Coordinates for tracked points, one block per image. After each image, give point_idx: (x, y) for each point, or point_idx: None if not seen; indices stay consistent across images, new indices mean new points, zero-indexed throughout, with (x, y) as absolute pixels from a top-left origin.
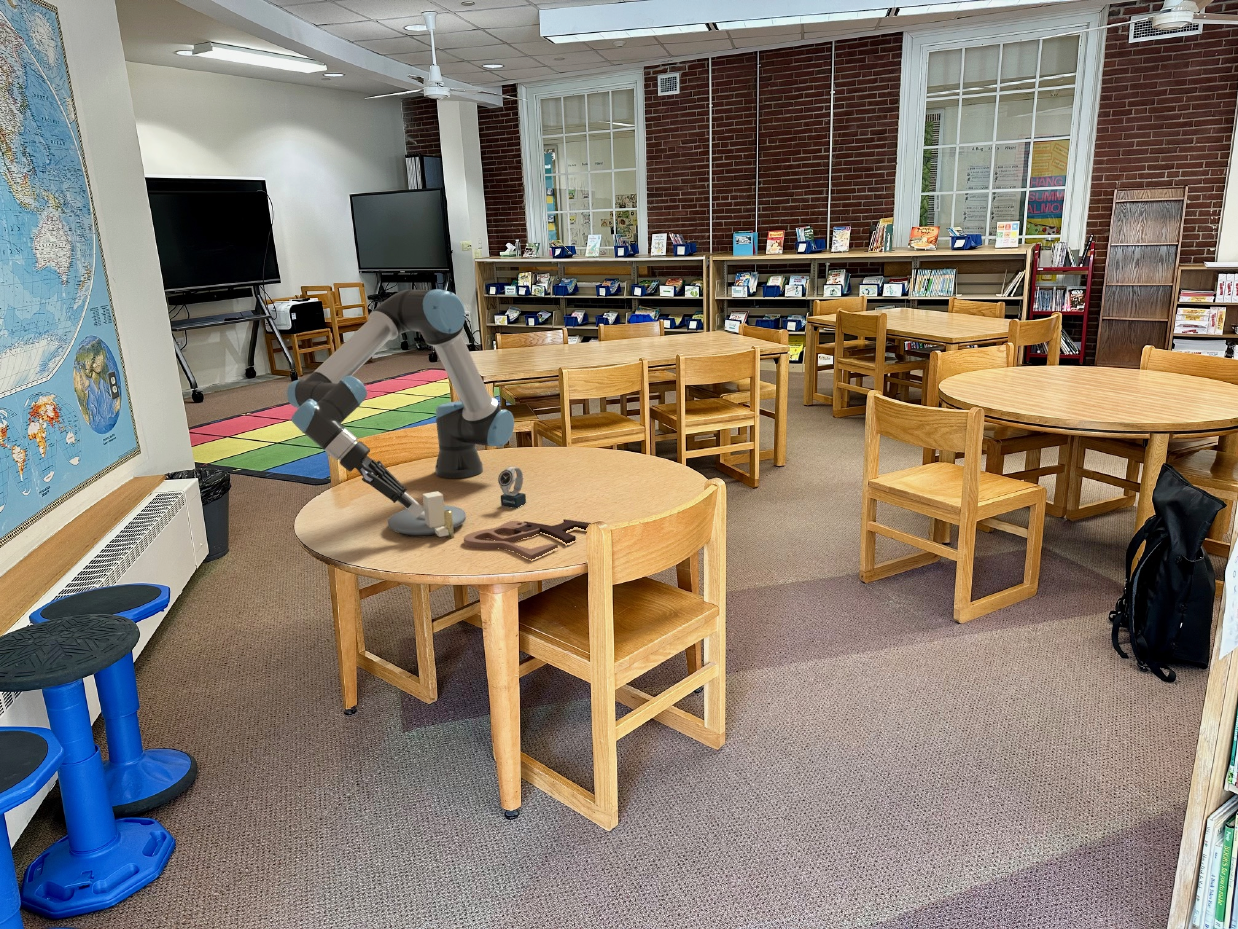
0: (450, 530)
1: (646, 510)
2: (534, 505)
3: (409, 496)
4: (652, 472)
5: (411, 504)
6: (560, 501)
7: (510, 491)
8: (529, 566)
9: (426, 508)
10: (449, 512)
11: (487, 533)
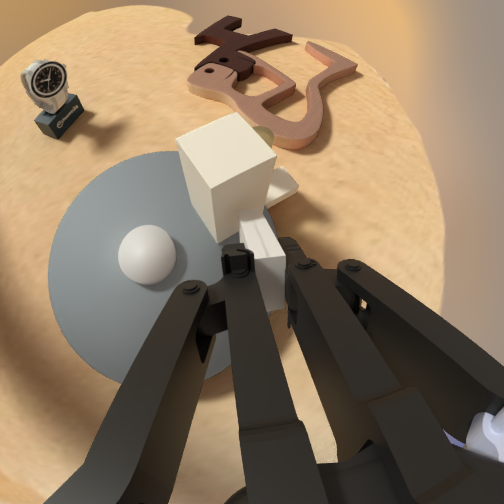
0: None
1: (159, 11)
2: (80, 93)
3: (260, 241)
4: (35, 47)
5: (288, 237)
6: (79, 72)
7: (35, 119)
8: (370, 75)
9: (244, 200)
10: (270, 130)
11: (261, 105)
